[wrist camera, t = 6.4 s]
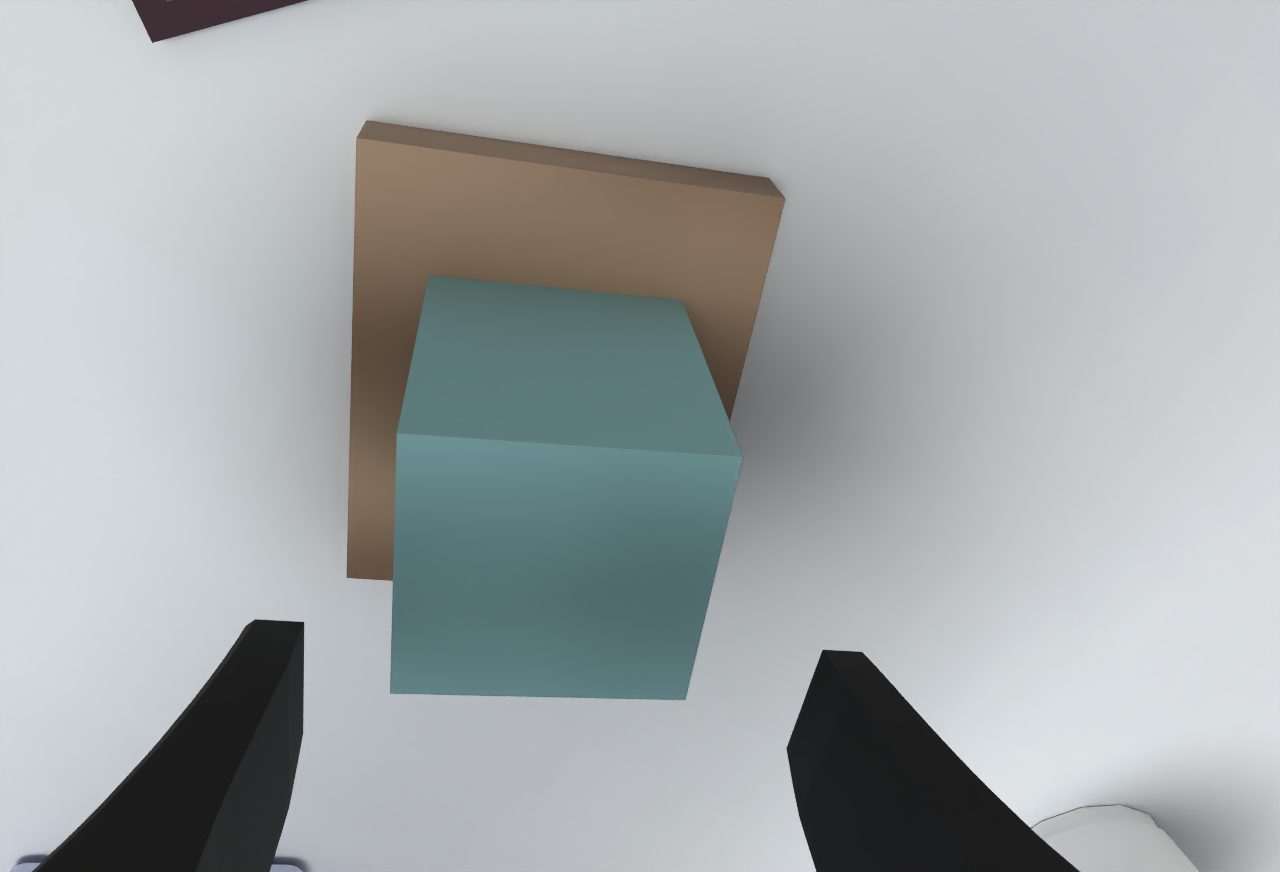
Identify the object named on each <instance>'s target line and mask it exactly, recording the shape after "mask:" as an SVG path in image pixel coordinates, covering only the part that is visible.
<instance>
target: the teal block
mask: <svg viewBox="0 0 1280 872" xmlns="http://www.w3.org/2000/svg"><path fill="white" fill-rule="evenodd" d="M742 460H743V455H742V452H741V450H740V447H739V445H738V442H737V440H736V437H735V435H734V432H733V429H732V427H731V424H730V422H729V419H728V417H727V414H726V412H725V409H724V406H723V404H722V401H721V399H720V396H719V394H718V391H717V389H716V386H715V383H714V381H713V378H712V376H711V373H710V371H709V368H708V366H707V363H706V360H705V358H704V355H703V353H702V350H701V348H700V345H699V343H698V340H697V337H696V335H695V332H694V330H693V327H692V325H691V322H690V320H689V317H688V314H687V312H686V309H685V307H684V304H683V302H682V300H676V299H666V298H656V297H645V296H635V295H625V294H615V293H605V292H595V291H584V290H574V289H564V288H554V287H544V286H533V285H523V284H513V283H503V282H493V281H483V280H472V279H462V278H452V277H442V276H432V275H429V277H428V282H427V287H426V292H425V297H424V302H423V307H422V312H421V317H420V322H419V327H418V332H417V337H416V342H415V346H414V351H413V356H412V361H411V366H410V371H409V376H408V381H407V386H406V391H405V396H404V401H403V406H402V410H401V415H400V420H399V425H398V430H397V447H396V486H395V525H394V563H393V602H392V641H391V680H390V694H435V695H480V696H525V697H570V698H615V699H661V700H685V699H686V695H687V691H688V687H689V683H690V678H691V674H692V670H693V666H694V662H695V657H696V653H697V649H698V645H699V641H700V637H701V632H702V628H703V624H704V620H705V616H706V611H707V607H708V603H709V599H710V595H711V590H712V586H713V582H714V578H715V574H716V569H717V565H718V561H719V557H720V553H721V548H722V544H723V540H724V536H725V532H726V527H727V523H728V519H729V515H730V511H731V506H732V502H733V498H734V494H735V490H736V486H737V481H738V477H739V473H740V469H741V465H742Z"/></svg>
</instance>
